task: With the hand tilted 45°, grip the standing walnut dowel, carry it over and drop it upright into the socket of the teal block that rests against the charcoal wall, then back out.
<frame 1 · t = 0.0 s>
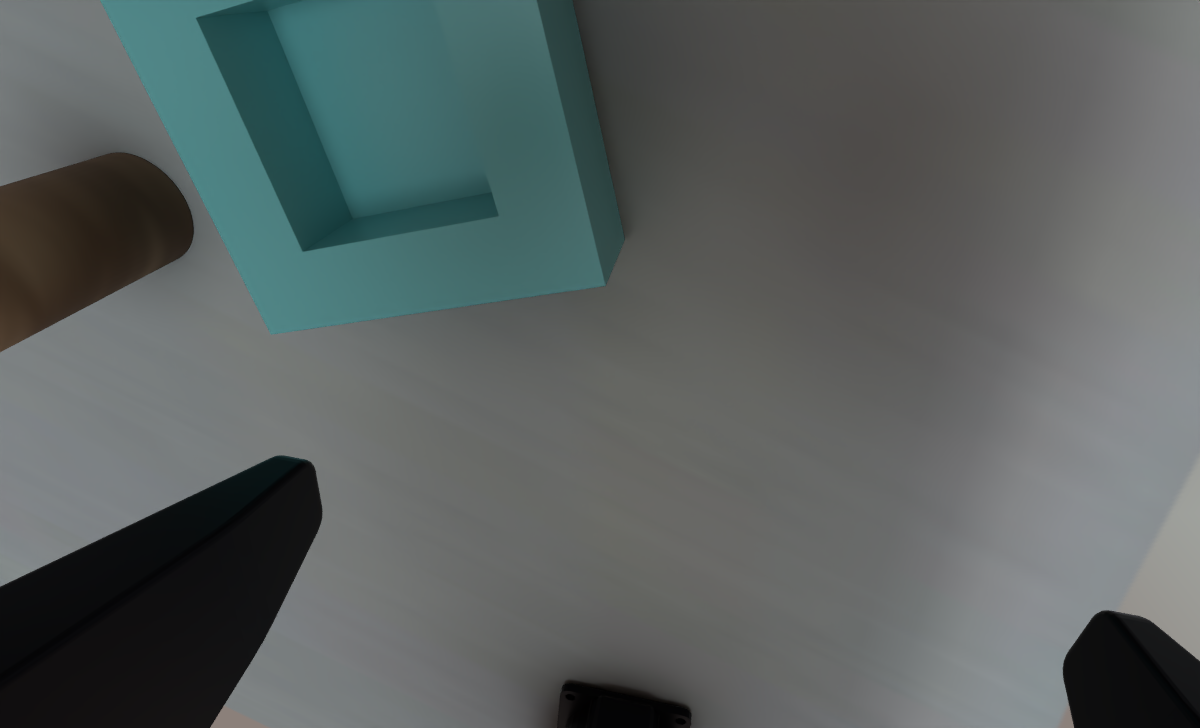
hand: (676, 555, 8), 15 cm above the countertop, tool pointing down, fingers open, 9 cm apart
socket block: (415, 95, 21), on the countertop
dowel: (140, 209, 24), on the countertop
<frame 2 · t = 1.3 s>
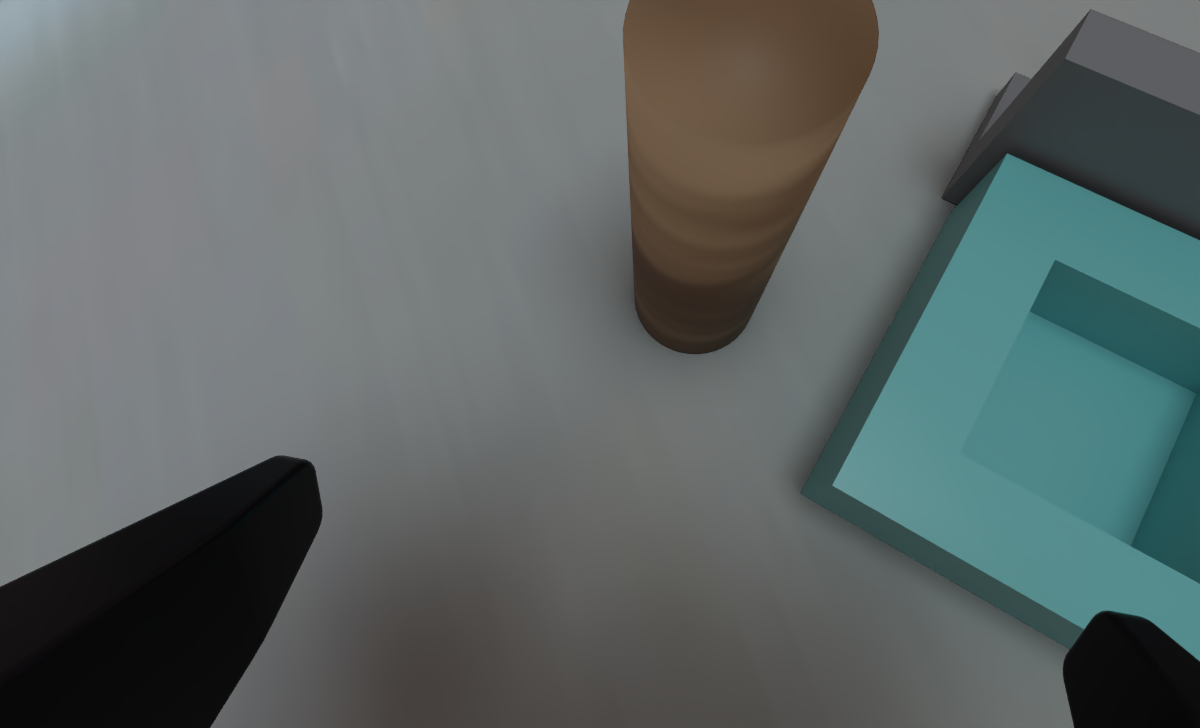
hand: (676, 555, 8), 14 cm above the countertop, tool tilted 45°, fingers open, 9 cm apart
socket block: (1036, 433, 21), on the countertop
dowel: (694, 296, 23), on the countertop
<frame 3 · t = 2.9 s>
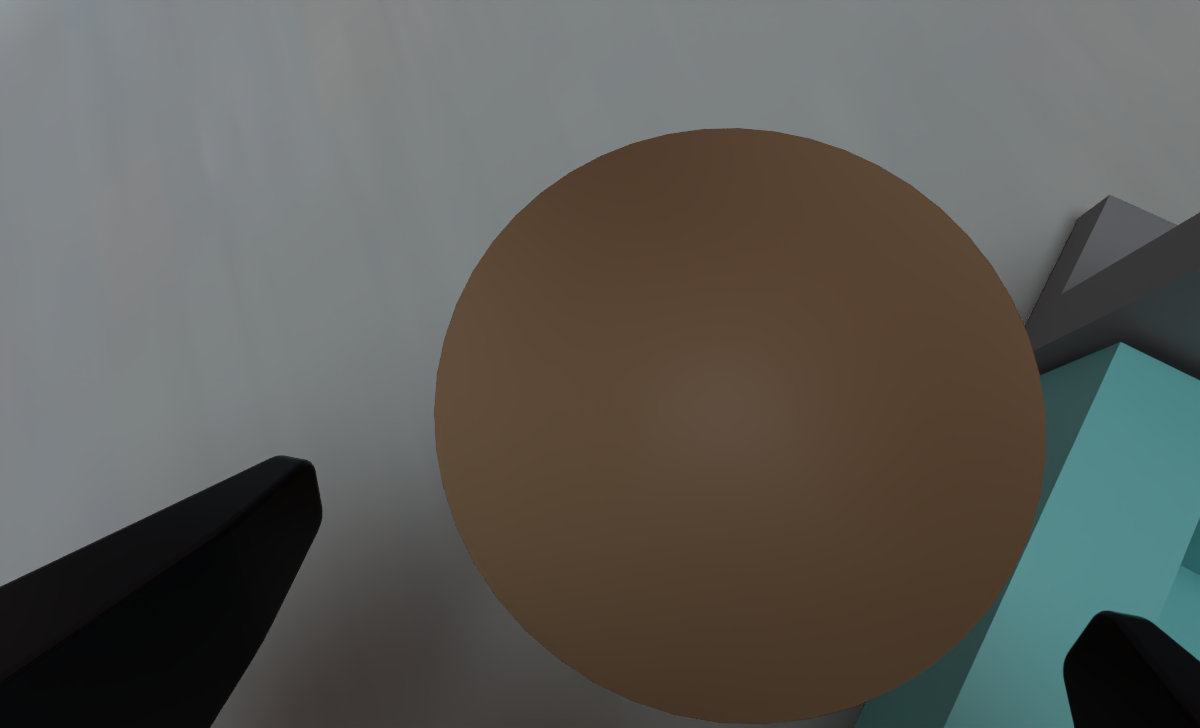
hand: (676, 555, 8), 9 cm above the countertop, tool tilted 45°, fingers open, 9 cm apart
socket block: (1150, 716, 15), on the countertop
dowel: (667, 500, 17), on the countertop
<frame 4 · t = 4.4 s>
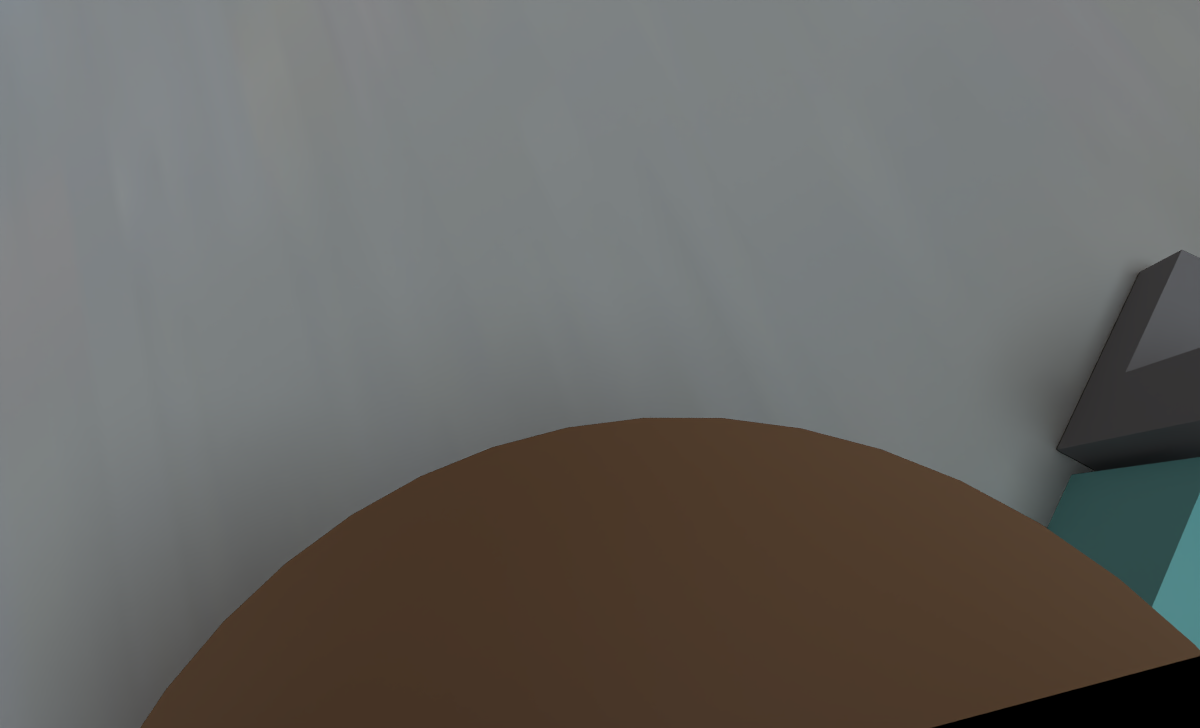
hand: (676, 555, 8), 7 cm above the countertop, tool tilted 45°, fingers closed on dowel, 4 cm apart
dowel: (651, 614, 14), on the countertop, touching gripper
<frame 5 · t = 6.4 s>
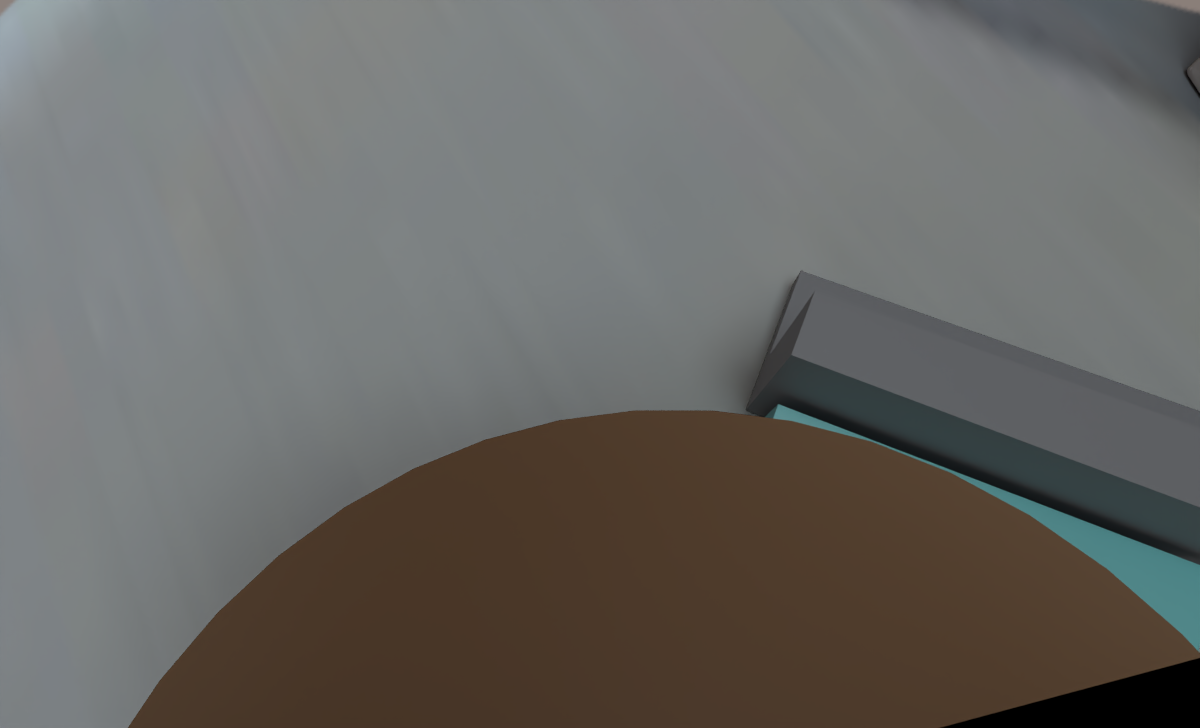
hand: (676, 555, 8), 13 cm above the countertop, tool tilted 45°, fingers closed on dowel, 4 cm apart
socket block: (869, 667, 20), on the countertop
dowel: (650, 613, 14), point 7 cm above the countertop, touching gripper
backstop wall: (1106, 522, 20), on the countertop
when the fingers open (9 cm above the countertop, at t = 8.4 s): dowel drops 2 cm, resting on socket block.
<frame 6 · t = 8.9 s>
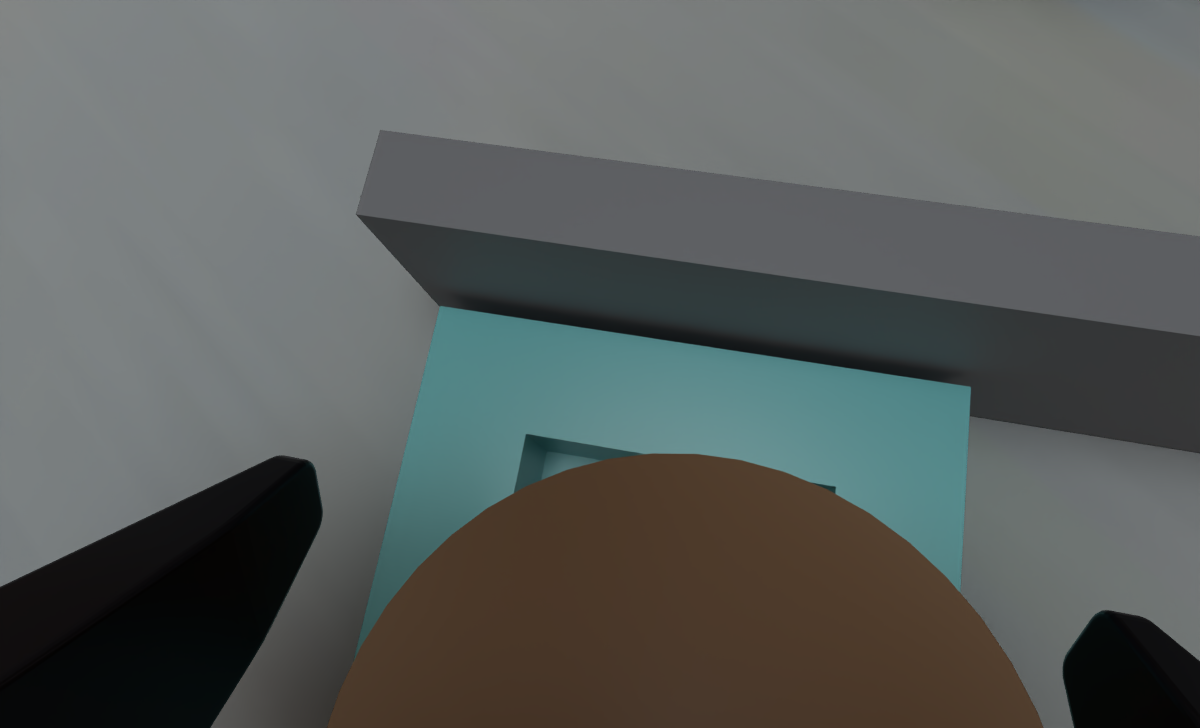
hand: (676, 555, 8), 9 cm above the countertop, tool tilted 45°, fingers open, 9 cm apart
socket block: (651, 601, 17), on the countertop, touching dowel
dowel: (649, 608, 16), resting on socket block
backstop wall: (889, 371, 17), on the countertop
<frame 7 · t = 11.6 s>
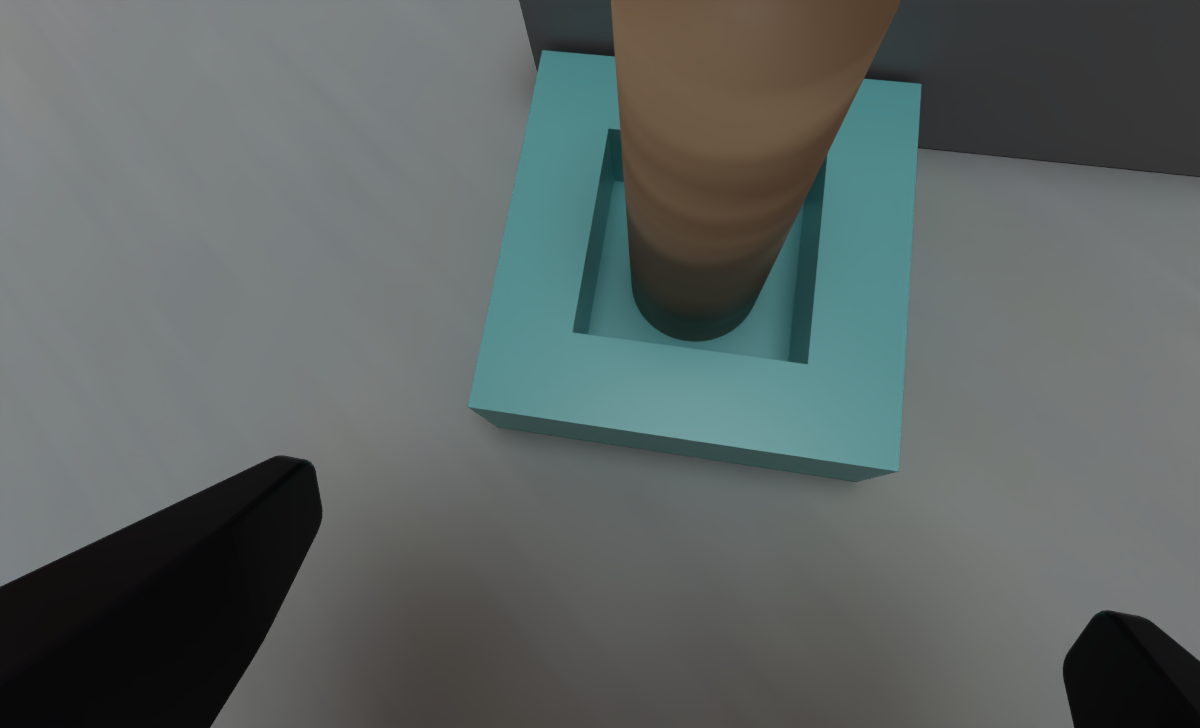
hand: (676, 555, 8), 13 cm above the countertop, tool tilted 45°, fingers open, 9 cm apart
socket block: (693, 290, 22), on the countertop, touching dowel
dowel: (694, 280, 21), point 1 cm above the countertop, touching socket block
backstop wall: (869, 121, 23), on the countertop
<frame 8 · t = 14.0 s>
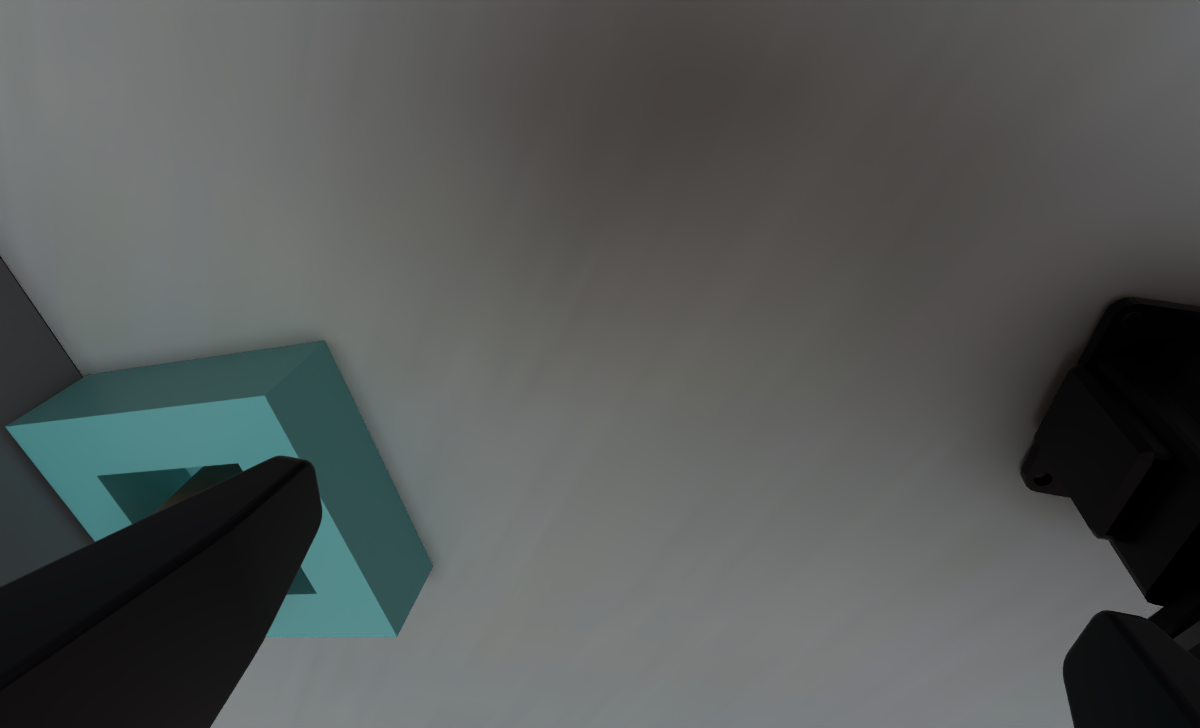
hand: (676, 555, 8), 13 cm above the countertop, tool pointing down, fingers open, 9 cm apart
socket block: (273, 466, 28), on the countertop
dowel: (259, 483, 27), point 1 cm above the countertop
backstop wall: (72, 388, 27), on the countertop
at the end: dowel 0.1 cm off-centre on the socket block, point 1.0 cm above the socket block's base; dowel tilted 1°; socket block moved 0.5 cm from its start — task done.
